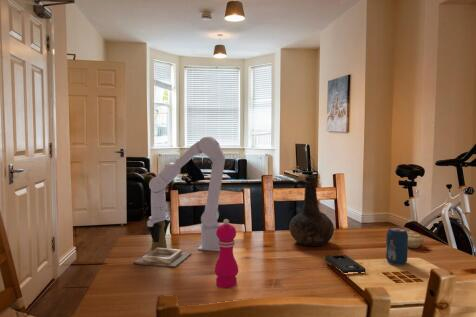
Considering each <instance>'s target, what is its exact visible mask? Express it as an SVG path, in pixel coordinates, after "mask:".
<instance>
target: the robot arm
mask: <svg viewBox="0 0 476 317" xmlns="http://www.w3.org/2000/svg"><path fill="white" fill-rule="evenodd" d="M201 154H204V155H205V156H207V157H208V159H209V160H210V161H211V162H212V166H211V171H210V172H211V173H210V179H209V183H208V184H209V185H208V190H207V197H206V203H205V207H204V211H203V213H202V215H201V216H200V222H201V225H200V230H201V232H200V233H201V234H200V236H201V237H200V240H201V242H200V243H201V244H200V246H199V247H197V250H201V251H212V252H220V246H219V245H218V240H219V238H218V237H217V235H216V231H217V228H218V227H219V226H220V225H221V224H220V222H218V219H219V216H220V213H219V212H220V211H219V200H220V196H221V195H220V194H221V188H222V183H223V175H224V171H225V170H224V168H225V163H226V157H225V155H224V152H223V150H222V148H221V146H220V143H219V142H218V141H217V140H216V138H214V137H212V136H204V137H202V138H200V139H199V141H197V142H195V143H194V144H193V145H191V146H190V147H189V148H187V150H186V151H185V152H184V153H183V154H181V156H180V157H178V159H177V160H176V161H174V162H169V163H166V164H165V165H164V168H162V169H161V170H160V171H159V172H156V173H155V175H156V176H153V177H152V178H151V179H150V180H149V183H148V186H149V189H150V211H151V212H150V214H151V216H149V217H148V220H147V221H146V223H147V224H146V228H147V229H148V231H149V233H150V236H151V241H152V240H153V242H159V234H160V229H161V227H162V225H158V224H157V222H160V221H165V227H164V231H165V237H166V235H167V230H168V228H169V225H170V223H171V220H170V213H167V209H166V208H167V205H166V204H167V203H166V202H167V200H166V187H167V185H168V184H170V183H171V182H173V181H174V180H175V178H177V177H178V176H179V175H180V173H181V169H182V168H183V167H184V166H185V165H186V164H187V163H188V162H189V161H190V160H191V159H193V158H194V157H195V156H197V155H201Z"/></svg>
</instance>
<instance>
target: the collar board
mask: <svg viewBox="0 0 476 317" xmlns="http://www.w3.org/2000/svg"><path fill="white" fill-rule="evenodd" d="M191 255H192V253H191V252H183V249H177V248H167V247H166V248H156V249H152V250H150V251H148V252H147V253H145V254H143V255H142V256H141V257H139V258H137V259H135V260H134V261H133V264H134V265H135V264H137V265H145V266H152V267H164V268H174V269H176V268H177V267H178V266H179V265H180V264H181V263H183V262H184V261H185V260H186V259H188V258H189V257H190V256H191Z"/></svg>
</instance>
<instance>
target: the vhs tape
mask: <svg viewBox="0 0 476 317" xmlns="http://www.w3.org/2000/svg"><path fill="white" fill-rule="evenodd" d="M324 261H325V262H327V263H328V264H329V263H330V264H329V265H331V264H332V265H333V266H335V267H337V268H338V269H340V270H341V271H342V272H343V273H348V272H358V273H361V272H365V273H366V267H364V266H363V265H361V264H360V263H358V262H357V261H355V260H354V259H353V258H351V257H349V256H348V255H347V254H338V255H334V254H333V255H325V256H324ZM332 265H331V266H332ZM333 266H332V267H333ZM357 266H358V267H359V268H358V267H357ZM361 274H362V273H361Z"/></svg>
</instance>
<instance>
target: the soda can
mask: <svg viewBox="0 0 476 317" xmlns="http://www.w3.org/2000/svg"><path fill="white" fill-rule="evenodd" d="M406 231H407V229H406V228H404V227H397V226H390V227H388V230H387V231H386V237H385V238H386V242H385V243H386V245H385V259H386V261H387V263H388V264H391V265H393V266H404V265H406V263H407V262H408V251H409V250H408V248H409V247H408V234H407V232H406Z"/></svg>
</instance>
